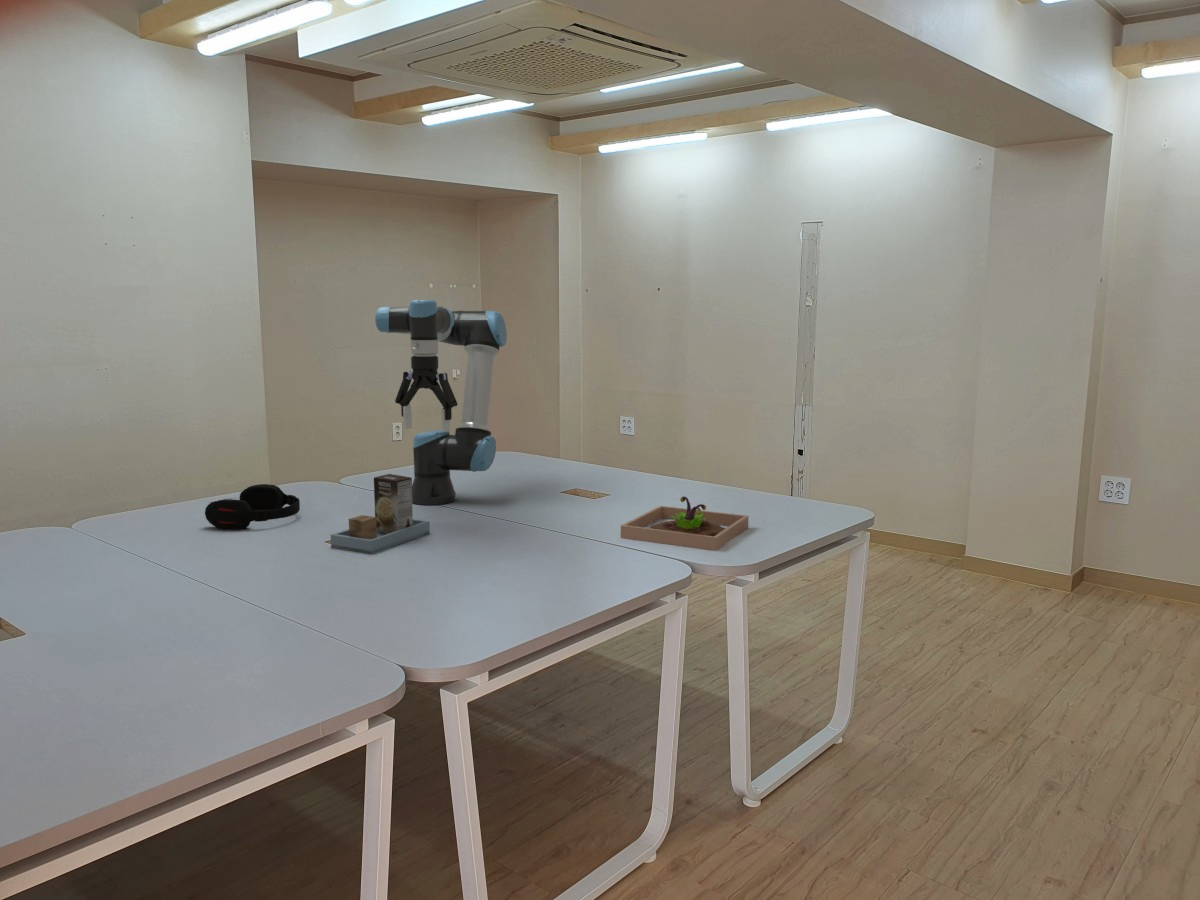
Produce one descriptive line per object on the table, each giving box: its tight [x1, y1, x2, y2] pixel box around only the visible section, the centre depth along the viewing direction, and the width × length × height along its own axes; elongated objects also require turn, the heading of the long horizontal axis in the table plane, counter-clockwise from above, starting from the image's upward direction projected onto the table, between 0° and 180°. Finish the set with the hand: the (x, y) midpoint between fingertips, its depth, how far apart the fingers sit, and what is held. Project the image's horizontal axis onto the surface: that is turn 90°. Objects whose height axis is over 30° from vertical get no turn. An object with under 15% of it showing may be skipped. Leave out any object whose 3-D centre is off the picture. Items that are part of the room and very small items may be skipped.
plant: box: [649, 496, 727, 536], centre depth 246 cm, size 20×20×11 cm
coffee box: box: [373, 473, 414, 535], centre depth 243 cm, size 9×6×16 cm
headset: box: [204, 483, 301, 531], centre depth 263 cm, size 28×26×9 cm
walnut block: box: [348, 514, 377, 540], centre depth 233 cm, size 5×5×7 cm
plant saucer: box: [620, 505, 749, 551], centre depth 249 cm, size 28×28×4 cm
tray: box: [330, 518, 431, 555], centre depth 240 cm, size 14×24×4 cm, turn 153°
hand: (426, 430), depth 249 cm, fingers open, 13 cm apart
